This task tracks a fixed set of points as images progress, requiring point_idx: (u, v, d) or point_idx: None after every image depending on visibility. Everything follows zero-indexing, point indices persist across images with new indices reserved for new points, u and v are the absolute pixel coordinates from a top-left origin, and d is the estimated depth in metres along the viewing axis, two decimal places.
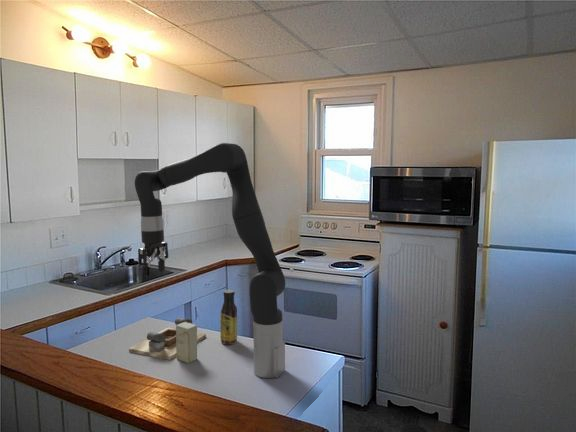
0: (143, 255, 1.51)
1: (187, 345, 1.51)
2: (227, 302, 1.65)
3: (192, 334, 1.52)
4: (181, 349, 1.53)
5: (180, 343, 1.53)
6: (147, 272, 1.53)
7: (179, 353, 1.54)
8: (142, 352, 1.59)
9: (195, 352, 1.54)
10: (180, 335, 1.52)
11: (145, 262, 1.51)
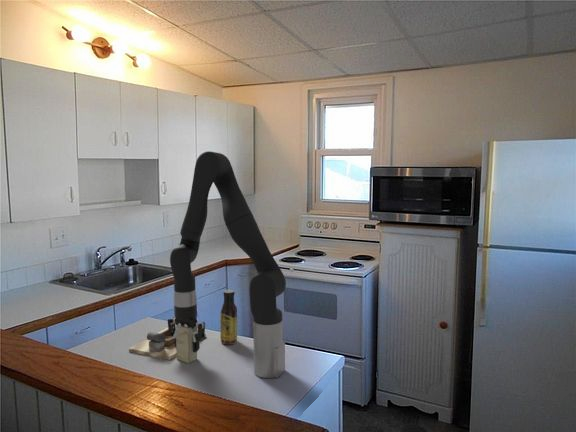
0: (204, 328, 1.52)
1: (187, 345, 1.51)
2: (227, 302, 1.65)
3: None
4: (181, 349, 1.53)
5: (180, 343, 1.53)
6: None
7: (179, 353, 1.54)
8: (142, 352, 1.59)
9: (195, 352, 1.54)
10: (180, 335, 1.52)
11: None
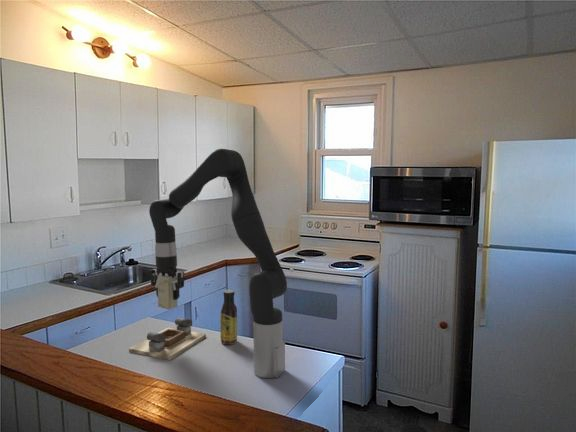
0: (183, 277, 1.63)
1: (167, 293, 1.62)
2: (227, 302, 1.65)
3: None
4: (162, 297, 1.64)
5: (161, 292, 1.64)
6: None
7: (160, 301, 1.65)
8: (142, 352, 1.59)
9: (175, 300, 1.65)
10: (161, 284, 1.64)
11: None
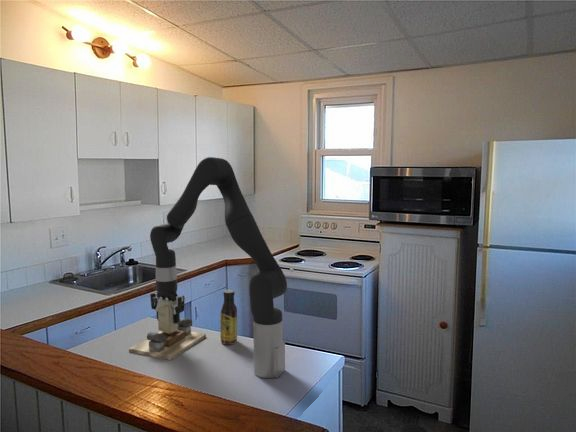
0: (183, 302, 1.64)
1: (168, 317, 1.63)
2: (227, 302, 1.65)
3: None
4: (163, 321, 1.65)
5: (162, 315, 1.65)
6: None
7: (161, 325, 1.66)
8: (142, 352, 1.59)
9: (175, 324, 1.66)
10: (162, 308, 1.65)
11: None
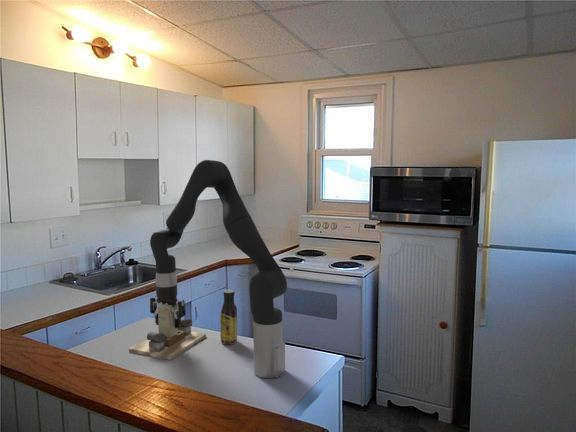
0: (184, 306, 1.64)
1: (168, 321, 1.63)
2: (227, 302, 1.65)
3: None
4: (163, 325, 1.65)
5: (162, 320, 1.65)
6: None
7: (161, 329, 1.66)
8: (142, 352, 1.59)
9: (176, 328, 1.66)
10: (162, 312, 1.65)
11: None
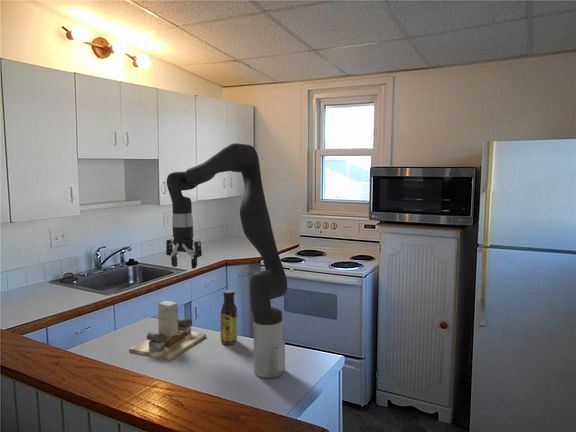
0: (200, 246, 1.68)
1: (168, 321, 1.63)
2: (227, 302, 1.65)
3: (173, 311, 1.64)
4: (163, 325, 1.65)
5: (162, 320, 1.65)
6: None
7: (161, 329, 1.66)
8: (142, 352, 1.59)
9: (176, 328, 1.66)
10: (162, 312, 1.65)
11: None
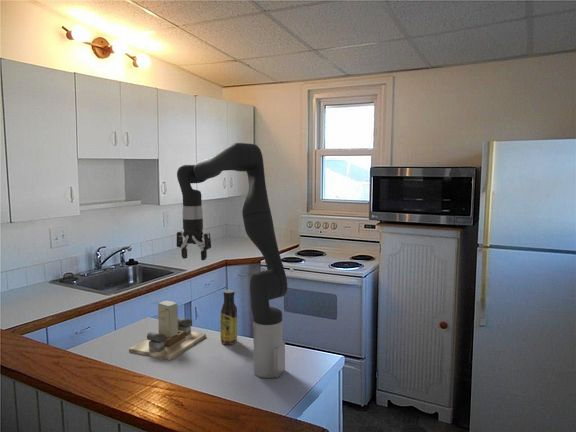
0: (209, 239, 1.71)
1: (168, 321, 1.63)
2: (227, 302, 1.65)
3: (173, 311, 1.64)
4: (163, 325, 1.65)
5: (162, 320, 1.65)
6: None
7: (161, 329, 1.66)
8: (142, 352, 1.59)
9: (176, 328, 1.66)
10: (162, 312, 1.65)
11: None
